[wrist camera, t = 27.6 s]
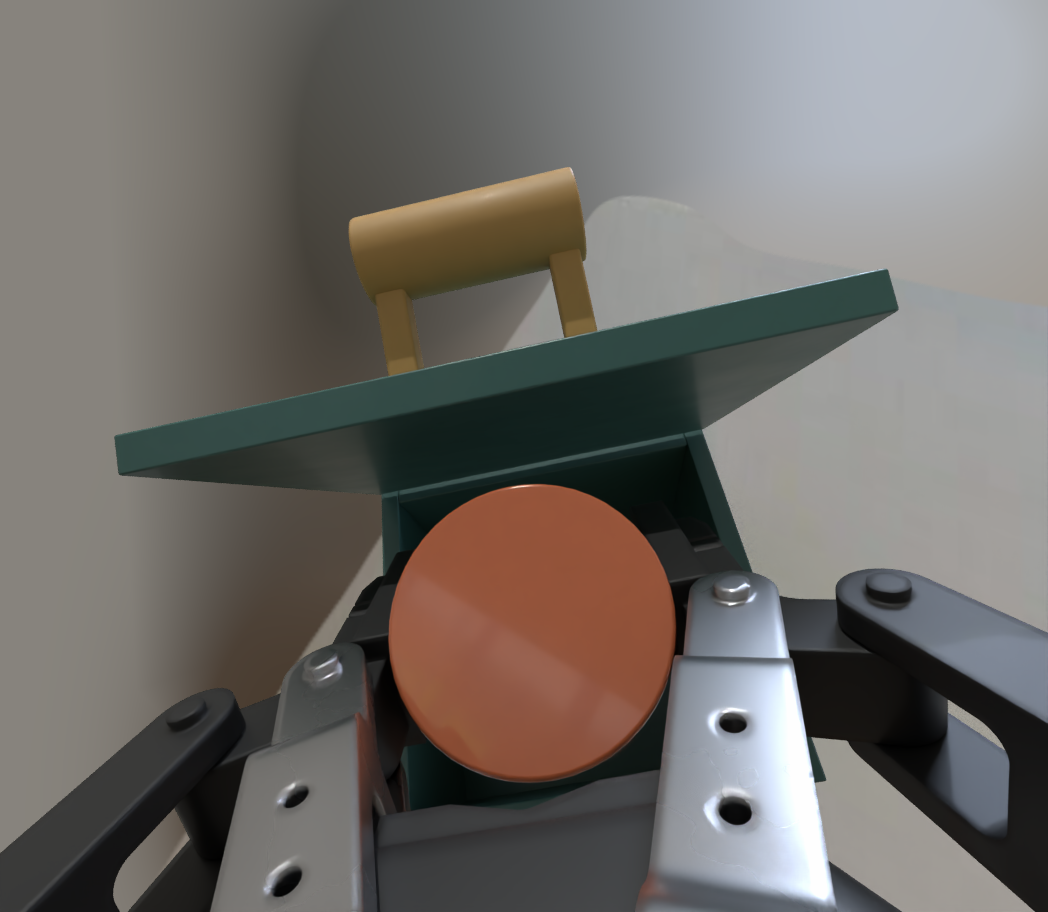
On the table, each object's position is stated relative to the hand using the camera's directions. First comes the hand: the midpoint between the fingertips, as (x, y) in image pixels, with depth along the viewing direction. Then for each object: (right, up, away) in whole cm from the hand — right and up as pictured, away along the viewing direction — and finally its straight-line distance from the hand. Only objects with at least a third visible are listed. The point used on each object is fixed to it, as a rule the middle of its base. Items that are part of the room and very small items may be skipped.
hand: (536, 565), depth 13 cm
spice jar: (+1, -4, +3) cm, 5 cm away
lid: (0, +3, +5) cm, 5 cm away
